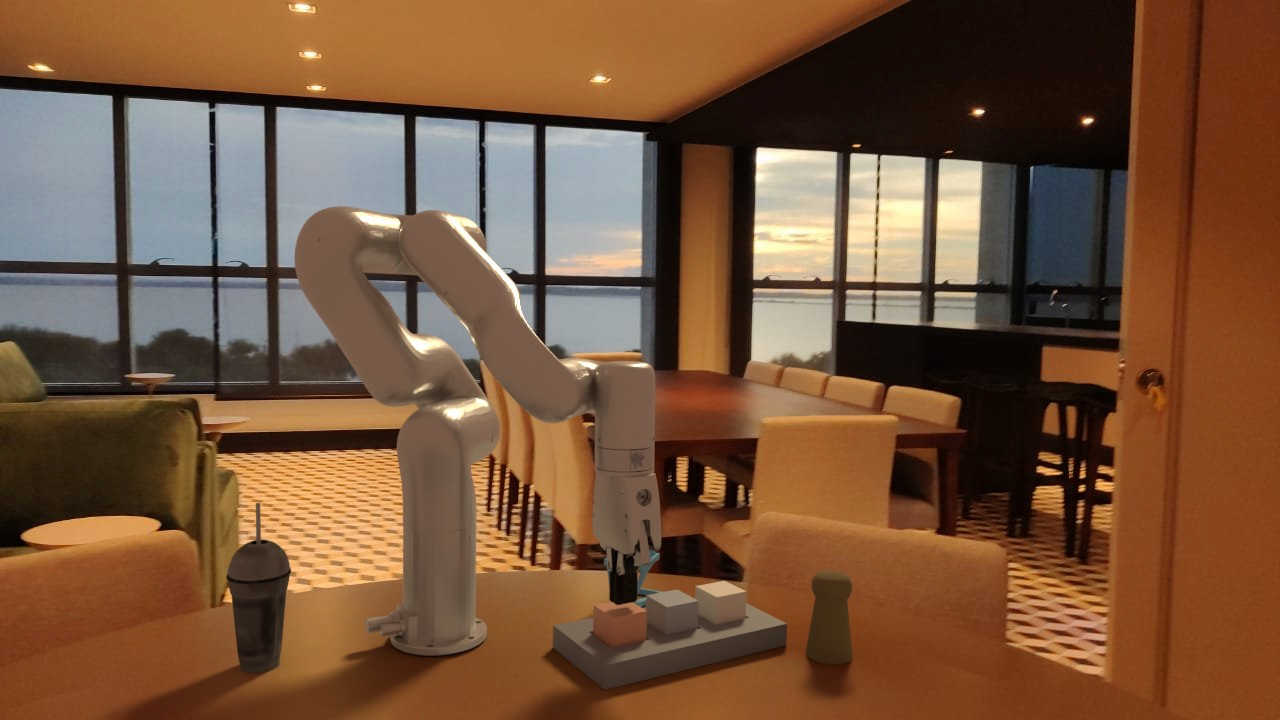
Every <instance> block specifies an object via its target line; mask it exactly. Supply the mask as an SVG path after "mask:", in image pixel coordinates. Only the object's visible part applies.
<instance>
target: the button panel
mask: <svg viewBox="0 0 1280 720" xmlns="http://www.w3.org/2000/svg"><path fill="white" fill-rule="evenodd" d="M693 598H694V599H695V597H693ZM642 608H643V609H645V610H646V606H644V607H642ZM787 634H788V623H786V622H785V621H783V620H781V619H779V618H777V617H775V616H773V615H771V614H769V613H766V612H764V611H763V610H761V609H759V608H757V607H755V606H753V605H750V604H749V603H747V602H746V619H741V620H736V621H732V622H727V623H723V624H718V625H714V624H713V623H711V622H709V621H707V620H706V619H704V618H702V617H700V616H698V629H695V630H691V631H686V632H681V633H677V634H672V635H668V636H664V635H663V634H661V633H660V632H658V631H656V630H655V629H653V628H652V627H650V626H648V625H647V633H646V640H645V641H640V642H635V643H631V644H626V645H622V646H617V647H613V648H611V647H609V646H608V645H606V644H605V643H604V642H602V641H601V640H599V639H598V638H597V637H595V636H594V635H593V617H589V618H585V619H580V620H579V619H578V620H575V621H574V620H573V621H569V622H564V623H559V624H554V625H553V626H552V648H553V649H554V650H555V651H556V652H558V653H559V654H560V655H561V656H562V657H564V658H565V659H566V660H567V661H568V662H570V663H571V664H572V665H573V666H575V667H576V668H577V669H579V671H580V672H582V673H583V674H585V675H586V676H587V677H588V678H589V679H590V680H592V681H593V682H595V684H597V685H598V686H599V687H600V688H602V689H603V690H604V691H605V690H609V689H614V688H618V687H622V686H626V685H631V684H635V683H637V682H638V683H639V682H643V681H646V680H650V679H654V678H659V677H662V676H666V675H671V674H675V673H679V672H684V671H687V670H690V669H691V670H692V669H696V668H700V667H704V666H707V665H711V664H716V663H720V662H724V661H727V660H728V661H729V660H733V659H735V658H740V657H741V658H742V657H743V656H748V655H752V654H756V653H761V652H764V651H768V650H773V649H776V648H781V647H785V646H787V638H788V637H787Z"/></svg>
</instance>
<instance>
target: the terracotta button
mask: <svg viewBox="0 0 1280 720" xmlns="http://www.w3.org/2000/svg"><path fill="white" fill-rule="evenodd" d="M643 608H644V607H640V606H638V605H636V604H635V603H633V602H632V603H627V604H622V605H616V604H614V603H613V602H611V601H610V602H608V601H607V602H603V603H598V604H597V603H596V604H593V610H592V612H593V616H592V618H593V635H594V636H595V637H597V638H598V639H599V640H601V641H602V642H604V643H605V644H606V645H608V646H609V647H611V648H613V647H617V646H622V645H626V644H631V643H635V642H640V641H645V640H646V633H647V611H646V610H645V609H643Z"/></svg>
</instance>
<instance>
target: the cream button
mask: <svg viewBox="0 0 1280 720" xmlns="http://www.w3.org/2000/svg"><path fill="white" fill-rule="evenodd" d="M694 591H695V592H694V598H695V599H696V600H698V601H699V605H698V616H700V617H702V618H704V619H706V620H707V621H709V622H711V623H713V624H714V625H718V624H723V623H727V622H732V621H736V620H741V619H746V603H747V592H748V591H746V590H745V589H742V588H740V587H738V586H737V585H734V584H732V583H730V582H728V581H726V580H721V581H715V582H710V583H705V584H699V585H695V589H694Z"/></svg>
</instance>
